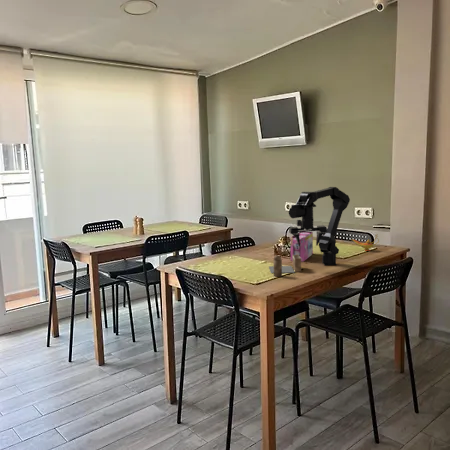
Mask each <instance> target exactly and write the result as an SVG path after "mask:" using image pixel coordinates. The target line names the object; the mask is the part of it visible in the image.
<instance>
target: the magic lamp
mask: <svg viewBox="0 0 450 450" xmlns="http://www.w3.org/2000/svg"><path fill="white" fill-rule="evenodd" d="M374 235H375V237H374V241H373V242H371V240H370V239H367V240H366V242H360V241H358V240H356V239H354V238H350V240H351V241H352V242H354V243H355V244H356V245H358V246H359V247H361V248H363V249H364V250H365V251H371V248H374V246H375V245H376V244H378V243H379V242H380V239H379V238H378V237H379V236H378V234H374ZM376 240H377V242H376ZM375 242H376V243H375Z"/></svg>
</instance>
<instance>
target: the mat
mask: <svg viewBox="0 0 450 450" xmlns="http://www.w3.org/2000/svg"><path fill="white" fill-rule="evenodd" d="M268 269H269V272H270V274H271V273H274V265H272V266H268ZM295 273H296V272H295V271H294V269H293V265H282V274H295Z"/></svg>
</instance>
